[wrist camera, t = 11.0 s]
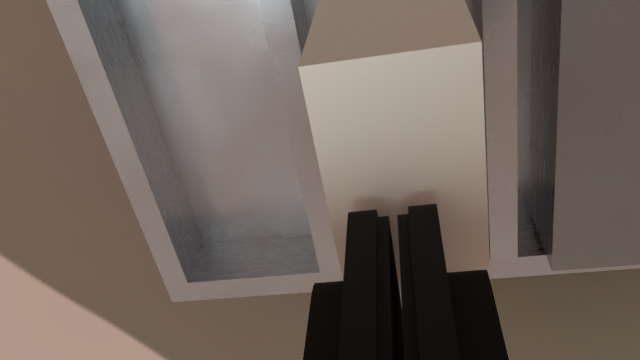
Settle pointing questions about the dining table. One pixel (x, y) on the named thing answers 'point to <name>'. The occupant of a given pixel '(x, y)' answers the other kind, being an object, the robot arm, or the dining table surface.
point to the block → (400, 118)
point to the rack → (299, 150)
